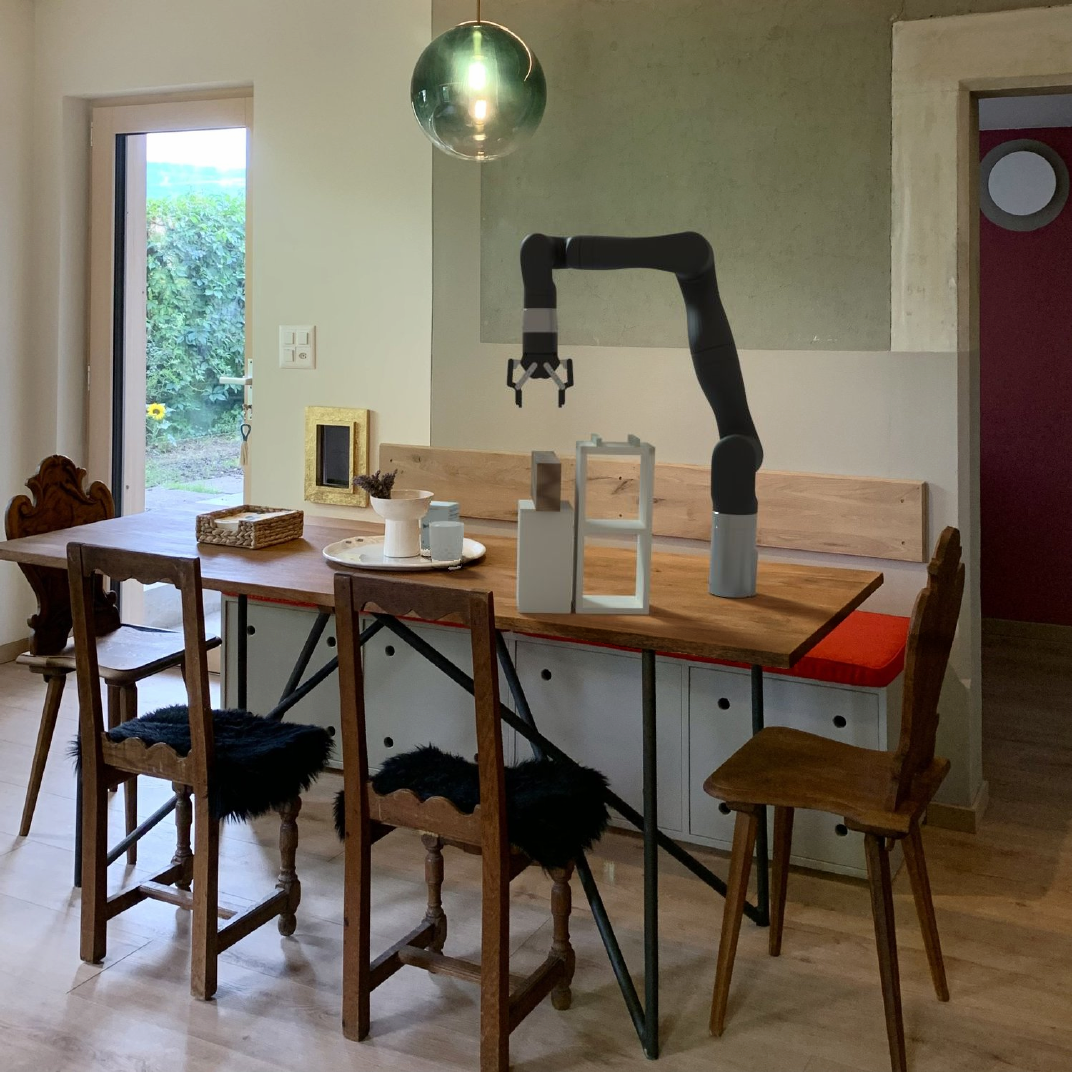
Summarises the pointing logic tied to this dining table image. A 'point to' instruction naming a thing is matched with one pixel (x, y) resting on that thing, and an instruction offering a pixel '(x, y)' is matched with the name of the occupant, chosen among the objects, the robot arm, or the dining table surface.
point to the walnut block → (546, 481)
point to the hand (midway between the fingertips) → (540, 407)
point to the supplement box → (437, 518)
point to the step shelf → (582, 542)
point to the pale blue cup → (446, 541)
